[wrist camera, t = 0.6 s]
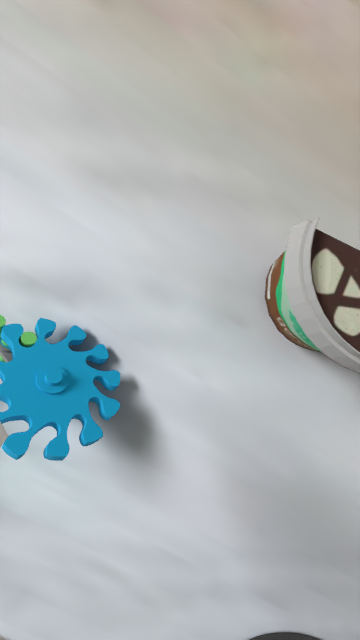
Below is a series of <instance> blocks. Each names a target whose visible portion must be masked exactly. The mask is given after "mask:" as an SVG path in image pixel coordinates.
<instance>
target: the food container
mask: <svg viewBox="0 0 360 640" xmlns="http://www.w3.org/2000/svg"><path fill="white" fill-rule="evenodd" d="M318 221H319V218H316V219H315V220H313V221H310V220H306V221H304V222H301V223H299V224H297V225H294V226H293V228H292V231H291V234H290V237H289V239H288V243H287V248H286V250H285V251H284V253H283V254H282V255H281V256H280V257H279V258H278V259H277V260H276V261H275V262H274V263H273V264H272V266H271V267H270V270H269V273H268V276H267V278H266V290H265V300H266V304H267V308H268V312H269V316H270V317H271V319H272V321H273V322H274V324H275V326H276V327H277V329H278V331H279V332H280V333H282V334H283V335H284V336H285V337H286V338H287V339H288V340H290V341H291V342H293V343H295V344H296V345H299V346H301V347H304V348H307V349H311V350H315V351H319V352H323V353H324V354H325V355H326V356H328V357H329V358H330V359H332V360H333V361H335V362H337V363H338V364H340V365H342V366H344V367H345V368H348V369H351V370H353V371H356V372H358V373H360V251H359V250H357V249H355V248H353V247H351V246H349V245H347V244H345V243H343V242H341V241H339V240H337V239H335V238H333V237H331V236H329V235H327V234H325V233H323V232H321V231H319V230H317V229H316V226H317V223H318Z"/></svg>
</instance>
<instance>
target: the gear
mask: <svg viewBox="0 0 360 640" xmlns="http://www.w3.org/2000/svg"><path fill="white" fill-rule="evenodd" d="M5 322H6V320H5V318H4V317H3V316H1V315H0V378H1V380H2V381H3V383H2V384H1V385H0V400H1V401H3V402H5V403H6V404H7V405H8V406H9V409H8V410H7V411H5V412H0V422H1V424H2V423H5V422H8V421H14V420H24V421H26V422H27V423H28V424H29V430H28V431H26V432H19V433H13V434H11V435H10V436H8V437H7V439H6V440H5V442H4V444H3V446H2V449H3V450H4V451H5V452H6V453H7V454H8V455H9V456H11V457H12V458H14V459H16V460H17V459H19V458H21V457H22V456H23V455H24V454H25V452H26V451H27V449H28V447H29V443H30V440H31V438H32V437H33V436H34V435H35V434H36V433H37V432H38V431H40V430H41V429H43V428H44V427H46V426H52V427H54V428H55V429H56V431H57V437H55V438H54V439H53V440H51V441H50V442H49V444H48V445H47V446H46V448H45V450H44V458H46V459H49V460H63V459H64V458H65V457H66V456H67V455H68V453H69V444H68V441H67V428H68V425H69V423H70V421H71V419H79V420H80V421H81V422H82V425H83V428H82V431H81V433H80V436H79V440H80V443H81V445H82V446H88V445H91V444H93V443H95V442H96V441H98V440H99V439H100V438H101V437H103V432H102V429H101V428H100V427H99V426H98V425H97V424H96V423H95V422H94V420H93V419H92V417H91V415H90V411H89V406H88V402H91V401H92V402H95V403H96V404H97V405H98V407H99V413H100V416H101V417H102V418H103V419H104V420H107V421H108V420H109V419H111V418H112V417H113V416H114V415H115V414H116V412H117V411H118V409H119V408H120V406H121V405H120V403H119V402H118V401H117V400H115V399H111V398H108V397H106V396H105V395H103V394H102V393H100V391H99V390H98V389H97V388H96V387H95V385H94V384H93V381H94V380H97V381H99V382H101V384H102V385H103V386H104V387H105V388H106V389H107V390H110V391H113V390H115V389H116V388H117V387H118V386H119V383H120V372H118V371H116V370H111V371H99V370H96V369H94V368H92V367H90V366H88V365H87V364H86V360H89V361H92V362H94V363H96V364H103V363H104V362H105V361H106V360H107V359H108V357H109V354H108V351H107V349H106V347H105V346H104V345H103V344H99V345H96V346H95V347H94V348H93V349H91V350H89V351H84V352H75V351H72V350H71V349H70V348H69V345H80V344H81V343H82V342H83V341H84V339H85V337H86V335H87V334H86V333H85V332H84V331H83V330H82V329H81V328H79V327H78V326H76V325H75V326H72V327H71V328H70V330H69V332H68V334H67V337H66V338H65V339H64V340H62V341H60V342H58V343H56V344H49V343H47V342H46V341H45V338H48V337H50V336H51V335H52V334H53V332H54V330H55V328H56V323H55V322H53V321H51V320H48V319H43V318H40V319H39V320H38V322H37V324H36V327H35V332H36V335H35V334H34V333H32V332H24V333H23V331H24V330H23V327H22V325H21V324H10V325H5ZM36 336H37V337H36Z"/></svg>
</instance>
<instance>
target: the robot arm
mask: <svg viewBox="0 0 360 640" xmlns="http://www.w3.org/2000/svg"><path fill="white" fill-rule="evenodd" d="M7 437H8V435H7V433H6V431H5V429H4V427H3V425H2V424H1V422H0V447H1V446H2V444H3V443H4V441H5V440H6V439H7ZM250 640H317V639H315V638H312V637H309V636H305V635H301V634H294V633H273V634H267V635H262V636H258V637H255V638H252V639H250Z"/></svg>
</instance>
